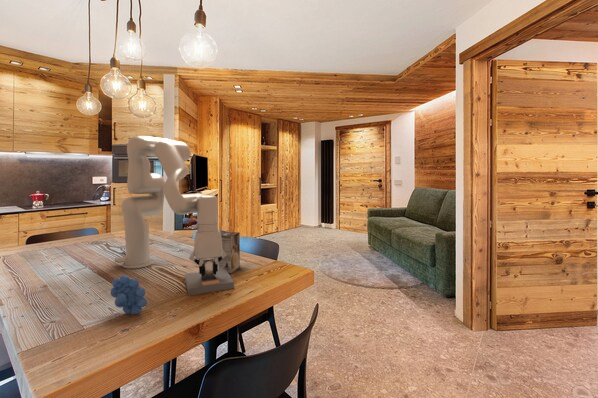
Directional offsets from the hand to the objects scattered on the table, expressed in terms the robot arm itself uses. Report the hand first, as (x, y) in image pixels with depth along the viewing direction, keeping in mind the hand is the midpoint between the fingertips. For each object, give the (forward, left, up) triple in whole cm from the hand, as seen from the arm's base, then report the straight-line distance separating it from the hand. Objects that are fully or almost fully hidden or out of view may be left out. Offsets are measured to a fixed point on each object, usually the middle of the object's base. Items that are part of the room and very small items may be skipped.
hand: (208, 273), depth 111 cm
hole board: (0, 0, -4) cm, 4 cm away
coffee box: (+11, +14, -4) cm, 18 cm away
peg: (0, 0, -1) cm, 1 cm away
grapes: (-26, -15, -4) cm, 30 cm away
